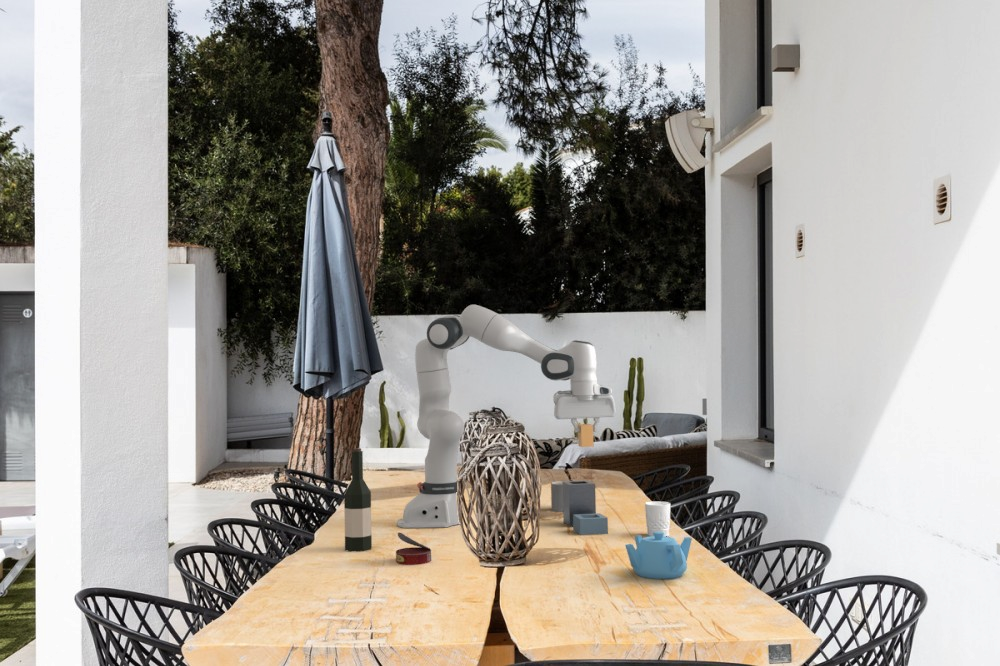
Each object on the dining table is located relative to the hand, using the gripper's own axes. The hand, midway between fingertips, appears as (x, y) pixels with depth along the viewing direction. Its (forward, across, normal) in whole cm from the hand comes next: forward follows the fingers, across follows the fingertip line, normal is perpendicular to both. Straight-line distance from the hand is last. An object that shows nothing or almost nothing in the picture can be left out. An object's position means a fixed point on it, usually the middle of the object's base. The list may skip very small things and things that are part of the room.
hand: (585, 432), depth 303 cm
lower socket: (+32, -1, -4) cm, 32 cm away
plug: (+5, 0, 0) cm, 5 cm away
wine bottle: (+31, -75, -11) cm, 82 cm away
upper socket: (+32, -1, +10) cm, 33 cm away
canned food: (+31, -60, -33) cm, 75 cm away
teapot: (+32, 0, -64) cm, 72 cm away
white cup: (+32, +18, -16) cm, 40 cm away
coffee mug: (+32, +4, +39) cm, 51 cm away
